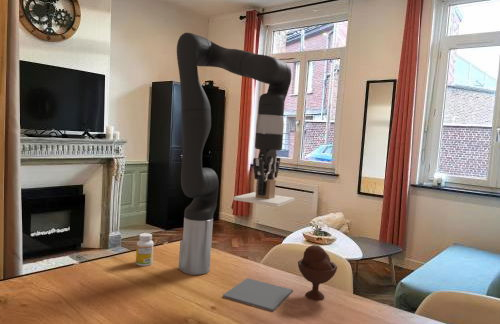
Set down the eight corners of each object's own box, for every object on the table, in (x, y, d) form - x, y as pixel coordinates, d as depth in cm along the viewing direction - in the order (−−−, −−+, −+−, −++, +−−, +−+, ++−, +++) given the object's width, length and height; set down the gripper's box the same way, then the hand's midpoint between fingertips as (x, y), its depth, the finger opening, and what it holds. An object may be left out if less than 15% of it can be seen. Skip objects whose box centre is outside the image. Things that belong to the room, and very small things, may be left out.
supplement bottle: (140, 259, 126) (142, 231, 126) (155, 261, 125) (157, 233, 125) (132, 264, 121) (134, 235, 120) (148, 267, 120) (149, 237, 119)
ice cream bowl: (335, 307, 100) (339, 253, 99) (293, 301, 102) (297, 247, 101) (334, 292, 110) (338, 242, 109) (296, 286, 112) (300, 238, 111)
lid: (233, 199, 100) (234, 178, 99) (253, 194, 112) (255, 175, 111) (277, 206, 94) (279, 184, 94) (294, 200, 106) (296, 180, 106)
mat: (222, 297, 101) (222, 294, 101) (247, 279, 115) (247, 278, 115) (273, 311, 95) (273, 309, 95) (292, 291, 108) (292, 289, 108)
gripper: (267, 132, 110) (263, 190, 111) (245, 130, 97) (241, 195, 98) (291, 134, 106) (286, 193, 108) (272, 132, 94) (267, 199, 95)
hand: (265, 194), depth 103 cm, fingers closed on lid, 4 cm apart
